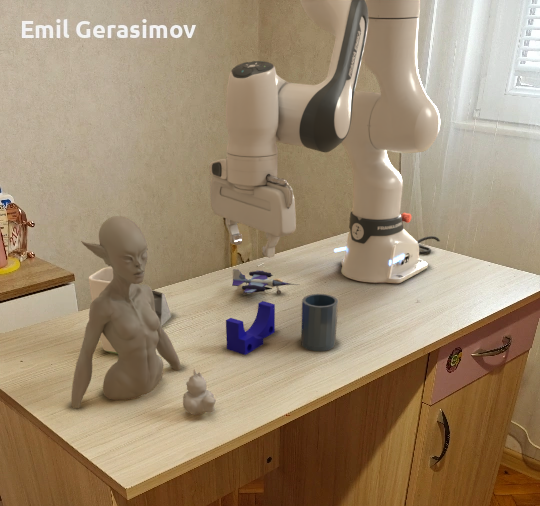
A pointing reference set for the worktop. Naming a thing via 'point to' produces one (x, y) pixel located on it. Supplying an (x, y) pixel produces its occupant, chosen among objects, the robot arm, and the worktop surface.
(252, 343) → the blue half clamp bracket
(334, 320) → the tumbler
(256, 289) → the toy airplane
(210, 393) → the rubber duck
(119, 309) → the elf figurine
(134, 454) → the worktop surface
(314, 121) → the robot arm
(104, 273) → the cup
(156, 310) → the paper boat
